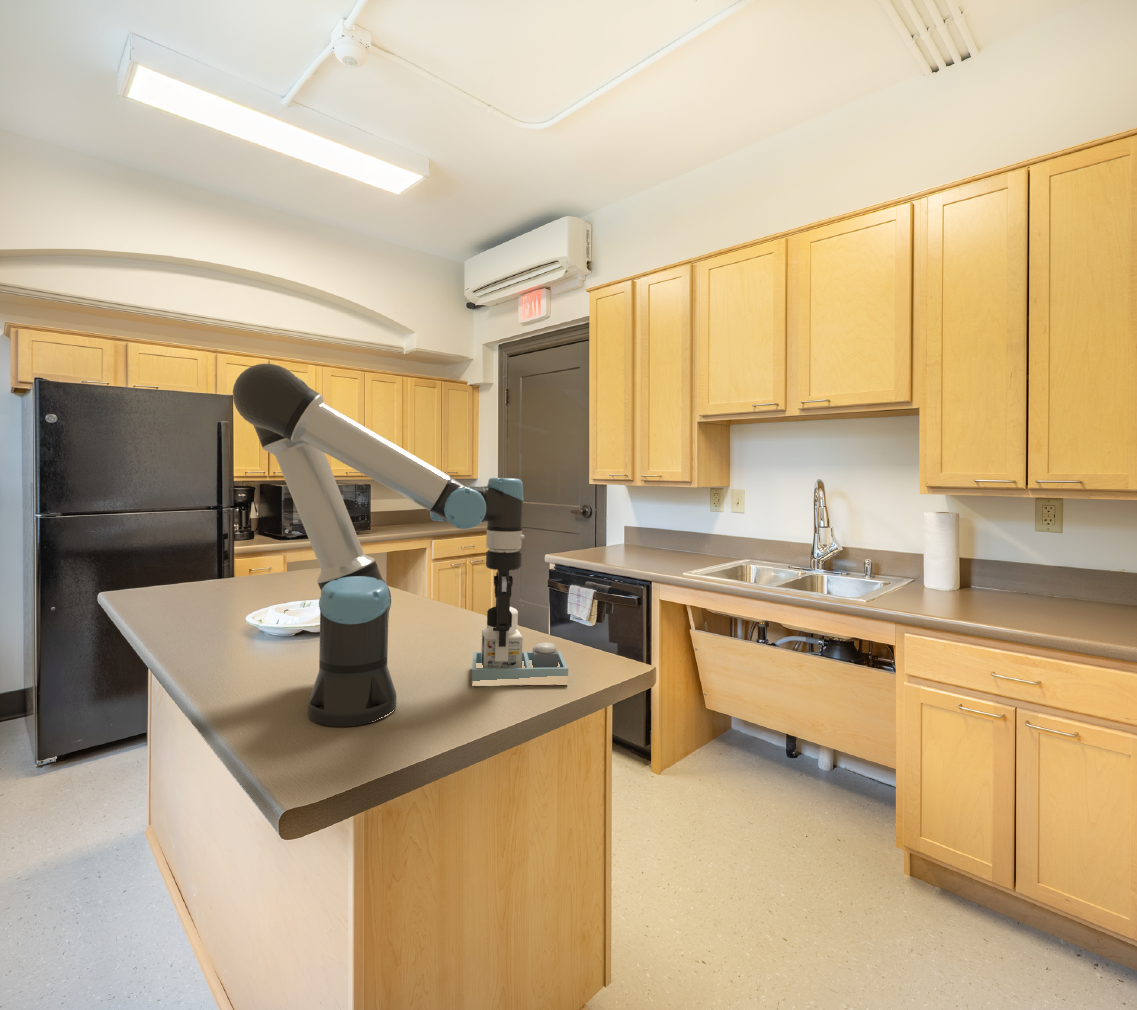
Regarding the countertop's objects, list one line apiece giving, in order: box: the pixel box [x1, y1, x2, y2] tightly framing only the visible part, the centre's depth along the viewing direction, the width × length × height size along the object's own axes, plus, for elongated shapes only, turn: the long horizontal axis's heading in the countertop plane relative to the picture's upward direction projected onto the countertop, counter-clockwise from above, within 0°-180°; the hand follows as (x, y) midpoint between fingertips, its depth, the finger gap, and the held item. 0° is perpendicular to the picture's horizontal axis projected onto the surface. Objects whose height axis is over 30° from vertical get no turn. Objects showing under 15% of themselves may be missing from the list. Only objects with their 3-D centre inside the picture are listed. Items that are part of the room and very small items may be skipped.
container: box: [480, 605, 524, 668], centre depth 128 cm, size 8×8×13 cm
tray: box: [471, 641, 569, 682], centre depth 129 cm, size 20×12×7 cm, turn 98°
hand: (500, 654), depth 129 cm, fingers closed on container, 8 cm apart
